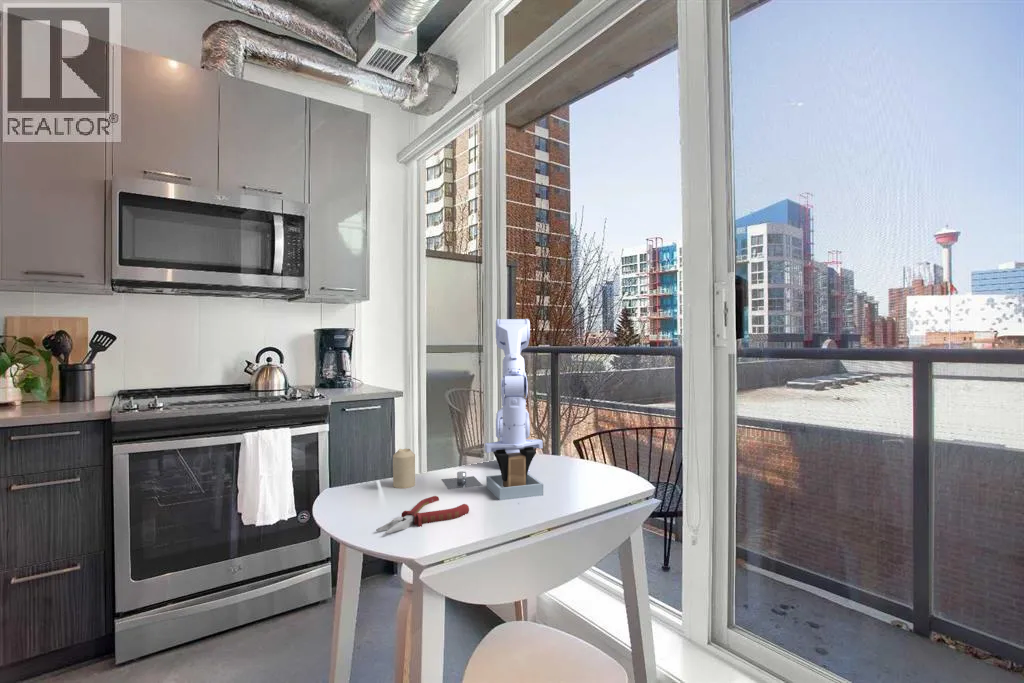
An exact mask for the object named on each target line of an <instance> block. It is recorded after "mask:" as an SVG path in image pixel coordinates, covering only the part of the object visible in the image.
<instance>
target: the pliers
mask: <svg viewBox="0 0 1024 683" xmlns="http://www.w3.org/2000/svg"><path fill="white" fill-rule="evenodd" d="M438 501H440V498H439V496H437V495H433V496H430V497H427V498H424V499H422V500H420V501H419V502H418V503H417V504H416V505H415V506H413V508H412V509H411V510H404V511H402V512H401V516H400V517H397V518H396V519H394V520H391V521H390V522H388V523H386V524H384V525H382V526H380V527H378V528H377V529H376V532H382V531H385V535H387V534H391V533H395V532H398V531H402V530H406V529H409V528H410V527H411V526H417V527H418V528H420V526H421V527H423V525H424V524H432V523H433V524H434V523H440V522H444V521H445V522H446V521H451V520H455V519H458V518H462V517H463V515H464V516H466V515H468V514H469V513H470V512H469V511H470V508H469V505H468V504H467V503H463V504H460V505H457V506H456V507H452V508H448V509H447V508H445V509H439V510H438V509H437V510H432V511H425V512H424V511H423V512H420V511H421V510H422V509H423V507H425V506H427V505H429V504H433V503H435V502H438ZM465 514H466V515H465Z"/></svg>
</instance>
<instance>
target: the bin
mask: <svg viewBox="0 0 1024 683" xmlns="http://www.w3.org/2000/svg"><path fill="white" fill-rule="evenodd" d="M485 481H486V488H487V490H489V491H490V492H491V494H493V496H495V497H496V499H498V500H499V501H505V500H506V501H507V500H514V499H516V500H517V499H524V498H533V497H539V496H540V497H541V496H544V483H543V482H541V481H540V480H539V479H537V478H535V477H534V476H533V475H531V474H530V473H529V472H528V473H527V478H526V485H522V486H512V487H504V486H503V480H502V476H501V474H495V475H487V476H486V480H485Z"/></svg>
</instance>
